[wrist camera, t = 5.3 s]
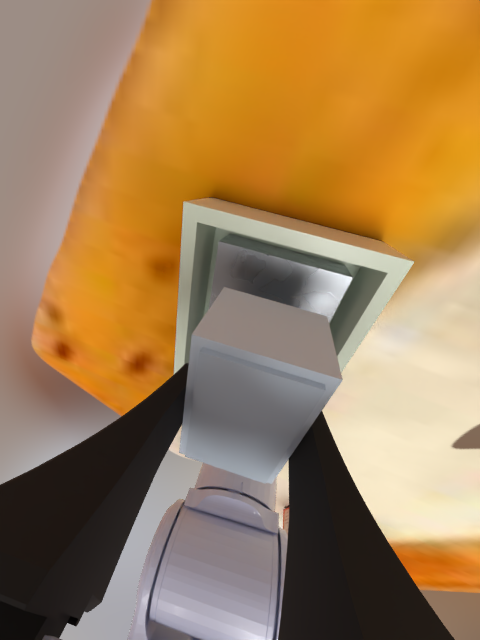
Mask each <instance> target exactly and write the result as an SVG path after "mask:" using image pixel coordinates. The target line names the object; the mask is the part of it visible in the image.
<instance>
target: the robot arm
mask: <svg viewBox="0 0 480 640" xmlns="http://www.w3.org/2000/svg"><path fill="white" fill-rule="evenodd" d="M188 365H189V363H186V364H184V365H183V366H182V367H181V368H180V369H179V370H178V371H177V372H176V373H175V374H174V375H173V376H172V377H171V378H170V379H169V380H167V381H166V382H165V383H164V384H163V385H162V386H160V387H159V388H158V389H157V390H156V391H155V392H153V393H152V394H151V395H150V396H148V397H147V398H146V399H145V400H143V401H142V402H141V403H139V404H138V405H137V406H135V407H134V408H133V409H132V410H130V411H129V412H127V413H126V414H125V415H123V416H122V417H120V418H119V419H117V420H116V421H115V422H113V423H111V424H110V425H108V426H107V427H105V428H104V429H102V430H101V431H99V432H98V433H96V434H94V435H93V436H91V437H89V438H88V439H86V440H85V441H83V442H81V443H80V444H78V445H76V446H74V447H72V448H71V449H69V450H67V451H65V452H63V453H62V454H60V455H58V456H56V457H54V458H52V459H51V460H49V461H47V462H45V463H43V464H41V465H40V466H38V467H36V468H34V469H32V470H30V471H28V472H26V473H24V474H22V475H20V476H18V477H15V478H13V479H11V480H9V481H7V482H5V483H3V484H1V485H0V640H61V639H59V637H60V636H61V633H62V632H63V630H64V628H65V626H66V624H67V623H69V624H71V625H74V626H77V624H78V623H79V621H80V619H81V617H82V615H83V613H84V611H85V612H89V611H91V610H92V609H94V608H95V607H96V606H97V605H99V604H100V603H101V602H102V600H103V597H104V594H105V592H106V589H107V587H108V585H109V582H110V580H111V577H112V575H113V572H114V570H115V567H116V565H117V563H118V560H119V558H120V555H121V553H122V550H123V548H124V546H125V543H126V541H127V538H128V536H129V534H130V531H131V529H132V526H133V524H134V522H135V520H136V517H137V515H138V513H139V510H140V508H141V506H142V503H143V501H144V499H145V496H146V494H147V492H148V490H149V487H150V485H151V483H152V481H153V478H154V476H155V474H156V472H157V470H158V468H159V466H160V463H161V461H162V460H163V458H164V456H165V454H166V452H167V450H168V449H169V447H170V445H171V443H172V441H173V439H174V438H175V436H176V434H177V432H178V430H179V428H180V427H181V425H182V422H183V412H184V403H185V394H186V384H187V375H188ZM276 486H277V477H276V478H275V479H274V481H273V482H272V484H270V483H267V482H266V484H264V483H261V482H258V481H255V480H253V479H250V478H247V477H244V476H241V475H238V474H235V473H232V472H229V471H226V470H223V469H220V468H217V467H214V466H212V465H209V464H206V463H203V464H202V467H201V470H200V473H199V476H198V479H197V482H196V485H195V488H190V489H189V492H188V494H187V497H186V500H183V499H179V500H177V501H176V502H175V503H174V504H173V505H172V506H170V507H169V508H168V510H167V511H166V513H165V514H164V516H163V518H162V520H161V522H160V524H159V526H158V528H157V531H156V533H155V535H154V538H153V540H152V543H151V545H150V548H149V551H148V554H147V556H146V560H145V563H144V566H143V569H142V573H141V577H140V580H139V585H138V590H137V602H136V607H135V612H134V616H133V620H132V624H131V628H130V632H129V635H128V639H127V640H455V639H454V638H453V637H452V636H451V634H450V633H449V631H448V630H447V629H446V627H445V626H444V625H443V623H442V622H441V620H440V619H439V618H438V616H437V615H436V614H435V612H434V610H433V609H432V608H431V606H430V605H429V603H428V602H427V600H426V599H425V598H424V596H423V595H422V593H421V592H420V590H419V589H418V587H417V586H416V584H415V583H414V581H413V580H412V578H411V577H410V575H409V574H408V572H407V570H406V569H405V567H404V566H403V564H402V563H401V561H400V560H399V558H398V557H397V555H396V554H395V552H394V551H393V549H392V547H391V546H390V544H389V543H388V541H387V540H386V538H385V536H384V535H383V533H382V531H381V530H380V528H379V526H378V525H377V523H376V521H375V519H374V518H373V516H372V514H371V513H370V511H369V509H368V507H367V506H366V504H365V502H364V500H363V498H362V496H361V495H360V493H359V491H358V489H357V487H356V485H355V483H354V481H353V479H352V477H351V475H350V473H349V471H348V469H347V467H346V465H345V463H344V461H343V459H342V456H341V454H340V452H339V450H338V448H337V446H336V443H335V441H334V439H333V436H332V434H331V432H330V429H329V427H328V424H327V422H326V420H325V417H324V415H323V412H322V411H321V412H320V414H319V415H318V417H317V418H316V420H315V421H314V423H313V424H312V425H311V427H310V428H309V430H308V431H307V433H306V434H305V436H304V437H303V439H302V440H301V442H300V443H299V444H298V446H297V447H296V449H295V450H294V452H293V453H292V455H291V456H290V458H289V527H288V535H287V533H286V531H285V530H284V529H280V528H278V524H279V514H278V513H276V512H275V502H276Z"/></svg>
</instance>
